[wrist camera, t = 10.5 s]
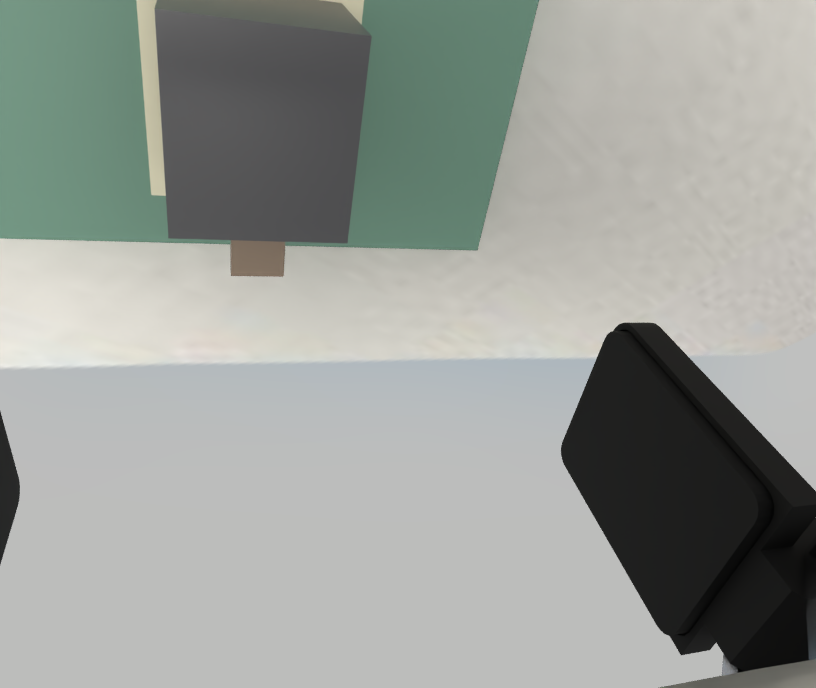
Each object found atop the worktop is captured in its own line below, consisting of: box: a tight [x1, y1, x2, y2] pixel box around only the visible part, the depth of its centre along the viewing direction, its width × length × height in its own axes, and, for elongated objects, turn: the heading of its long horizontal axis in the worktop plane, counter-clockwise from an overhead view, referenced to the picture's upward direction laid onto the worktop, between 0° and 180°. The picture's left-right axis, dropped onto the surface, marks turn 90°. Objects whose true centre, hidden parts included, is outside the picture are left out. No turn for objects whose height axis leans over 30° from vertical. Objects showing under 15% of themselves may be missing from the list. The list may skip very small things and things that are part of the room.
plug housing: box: [154, 0, 372, 276], centre depth 21 cm, size 6×8×5 cm, turn 171°
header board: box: [0, 0, 539, 250], centre depth 22 cm, size 20×12×4 cm, turn 81°
